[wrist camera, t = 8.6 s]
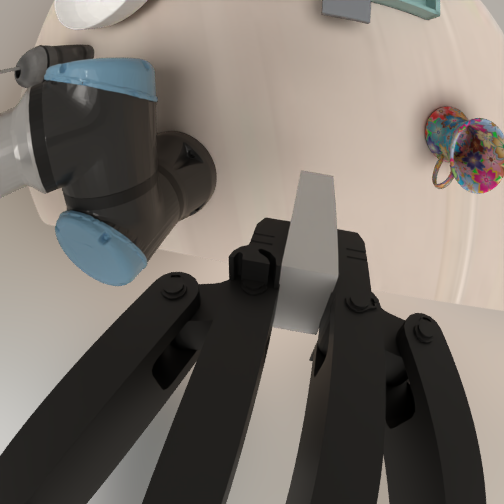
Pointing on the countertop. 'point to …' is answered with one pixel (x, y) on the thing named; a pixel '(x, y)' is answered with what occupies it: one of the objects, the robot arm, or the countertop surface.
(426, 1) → the tray
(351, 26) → the countertop surface
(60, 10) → the bowl
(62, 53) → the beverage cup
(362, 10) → the blue-grey ramp
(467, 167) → the mug
